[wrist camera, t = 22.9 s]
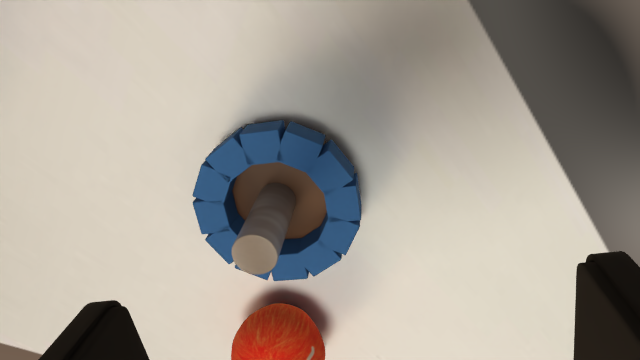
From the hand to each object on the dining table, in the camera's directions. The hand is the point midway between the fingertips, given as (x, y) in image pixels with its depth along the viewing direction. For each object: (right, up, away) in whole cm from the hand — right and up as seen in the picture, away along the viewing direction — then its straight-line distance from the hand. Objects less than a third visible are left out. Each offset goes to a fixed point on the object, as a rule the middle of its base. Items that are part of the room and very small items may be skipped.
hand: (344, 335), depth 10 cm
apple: (-4, -11, +34) cm, 36 cm away
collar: (-4, +2, +27) cm, 27 cm away
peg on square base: (-4, +2, +28) cm, 29 cm away
